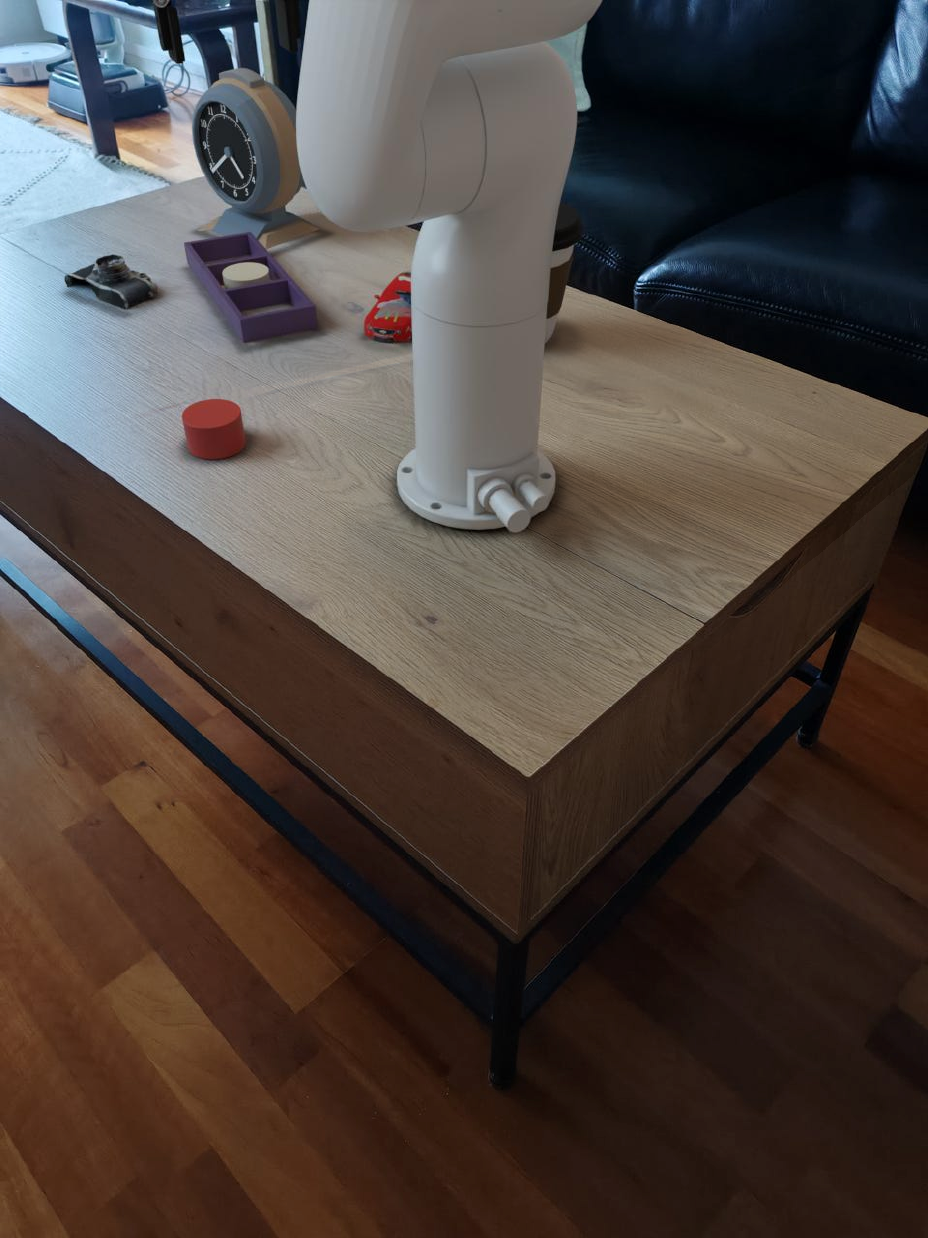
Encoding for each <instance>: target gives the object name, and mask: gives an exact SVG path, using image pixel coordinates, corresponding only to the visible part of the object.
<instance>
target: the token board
mask: <svg viewBox="0 0 928 1238" xmlns="http://www.w3.org/2000/svg"><path fill="white" fill-rule="evenodd" d="M183 246H184V252H185V258H186V264H187V265H188V266H189V268H190V269H191V271H192V272H193V274H194V275H195V276H196V278H197V280H198V281H199V282H200V283H201V285H202V286H203V288H204V289H205V291H206V292H207V294H208V295H209V296H210V298H211V299H212V301H213V302H214V303H215V305H216V307H217V308H218V309H219V311H220V312H221V313H222V315H223V316H224V318H225V319H226V320H227V322H228V323H229V325H230V326H231V327H232V329H233V331H234V332H235V334H236V335H237V336H238V338H239V339H240V341H241V342H242V343H243V344H246V343H251V342H255V341H259V340H260V341H261V340H266V339H270V338H276V337H281V336H286V335H291V334H295V333H300V332H306V331H310V330H316V329H319V326H318V315H317V306H316V304H315V303H314V302H313V301H312V300H311V299H310V297H309V296H308V295H307V294H306V293H305V292H304V291H303V290H302V288H301V287H300V286H299V285H298V284H297V283H296V282H295V280H294V279H293V278H292V277H291V276H290V275H289V274H288V272H287V271H286V270H285V269H284V268H283V266H281V264H280V263H279V262H278V261H277V260H276V259H275V258H274V256H273V255H272V254H271V253H270V252H269V251H268V249H265V248H264V246H263V245H262V244H261V243H260V242H259V241H258V240H257V239H256V237H255V236H254V235H253V234H252V233H251V232H246V233H240V234H234V235H228V236H222V235H221V236H215V237H210V238H204V239H198V240H191V241H185V242H183ZM244 256H245V257H244ZM246 256H247V257H246ZM227 259H229V260H227ZM222 260H223V261H222ZM216 261H218V262H216ZM210 262H211V263H210ZM246 262H252V263H259V264H263V265H265V266H267V267H268V269H269V275H270V281H267V282H262V283H256V284H251V285H245V286H240V287H234V288H229V289H225V286H224V280H223V274H222V273H223V270H224V269H225V268H227V267H228V266H231V265H234V264H238V263H246ZM287 303H290V304H291V305H292V307H288V308H284V309H283V308H282V309H277V310H272V311H267V312H262V313H257V314H253V315H247V316H244V315H243V313H242V312H244V311H245V312H246V311H250V310H255V309H261V308H265V307H270V306H275V305H281V304H287Z"/></svg>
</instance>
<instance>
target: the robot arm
mask: <svg viewBox="0 0 928 1238" xmlns="http://www.w3.org/2000/svg"><path fill="white" fill-rule="evenodd" d="M149 1H150V2H151V3H152V8H153V12H154V18H155V19H154V20H155V23H156V28H157V29H156V30H157V35H158V40H159V41H158V42H159V45H160V49H161V50H162V51H163V52H168V56H169V58H170V59H171V60H172V61H173V62H174V63H175V64H176V65H180V64H184V62H186V57H185V50H184V44H183V38H182V32H181V27H180V19H179V14H178V10H177V7H175V6H174V5H173V3H172V0H149ZM602 3H603V0H309V1H308V7H307V8H308V9H307V16H306V24H305V33H304V40H303V49H302V56H301V62H300V72H299V79H298V88H297V98H296V141H297V152H298V158H299V164H300V169H301V173H302V176H303V179H304V182H303V184H304V185H305V188H306V190H307V193H308V194H309V196H310V199H311V200H312V202H313V204H314V205H315V206H316V208H317V209H318V210H319V212H320V213H321V214H322V215H323V216H324V217H325V218H326V219H327V220H329V222H331V223H332V224H334V225H336V226H338V227H340V228H342V229H344V230H347V231H351V232H356V233H375V232H376V233H377V232H384V231H389V230H392V229H393V230H394V229H399V228H402V227H407V226H410V225H414V224H418V223H422V226H421V228H420V230H419V233H418V236H417V239H416V242H415V247H414V251H413V256H412V260H411V267H410V268H411V269H410V271H411V316H412V340H411V345H412V347H411V349H412V373H413V374H412V375H413V377H412V378H413V407H414V408H413V409H414V411H413V412H414V437H415V438H414V439H415V440H414V441H415V447H414V448H413V449H411V450H410V451H409V452H408V453H407V454H406V455H405V456H404V457H403V458H402V460H401V462H400V463H399V465H398V467H397V471H396V486H397V490H398V495H399V497H400V498H401V500H402V502H403V503H404V504H405V505H406V506H407V507H408V508H409V509H410V510H411V511H412V512H414V513H415V514H417V515H418V516H420V517H421V518H424V519H426V520H428V521H430V522H432V523H434V524H437V525H442V526H445V527H448V528H454V529H461V530H472V531H473V530H476V531H481V530H482V531H483V530H495V529H500V528H505V527H506V529H507V530H508V531H509V532H510V533H514V534H515V533H516V534H517V533H520V532H522V531H523V530H525V529H526V528H527V527H528V526H529V524H530V522H531V519H532V518H533V517H535V516H537V515H538V514H539V513H541V512H543V511H546V509H547V508H548V507H549V505H550V502H551V501H552V499H553V496H554V494H555V488H556V479H557V478H556V471H555V469H554V466H553V463H552V461H550V459H549V458H548V457H547V456H546V454H544V453H543V452H542V451H540V450H539V435H540V421H541V420H540V419H541V405H542V389H543V374H544V361H545V360H544V359H545V358H544V357H545V345H546V343H545V331H546V316H547V303H548V296H549V281H550V268H551V257H552V247H553V239H554V232H555V225H556V220H557V214H558V209H559V204H560V202H561V199H562V195H563V192H564V187H565V184H566V180H567V177H568V173H569V170H570V165H571V160H572V156H573V151H574V147H575V141H576V135H577V128H578V127H577V126H578V104H577V94H576V89H575V85H574V81H573V78H572V76H571V72H570V70H569V68H568V66H567V64H566V63H565V61H564V60H563V58H562V57H561V55H560V54H559V53H558V52H557V50H556V49H555V48H554V47H552V45H551V44H550V43H548V41H551V40H556V39H559V38H563V37H566V36H567V35H569V34H571V33H574V32H575V31H578V30H579V29H581V28H582V27H583V26H585V25H586V24H587V23H588V22H589V21H590V20H591V19H592V18H593V16H594V15H595V13H596V12H597V10H598V9H599V7H600V6H601V4H602ZM274 5H275V6H274V7H275V14H276V23H277V34H278V43H279V45H280V47H282V48H283V49H285V50H286V51H288V52H290V53H291V54H294V53H299V44H298V40H299V39H302V37H303V33H302V21H301V9H300V0H274Z"/></svg>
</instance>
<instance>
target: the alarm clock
mask: <svg viewBox="0 0 928 1238" xmlns="http://www.w3.org/2000/svg"><path fill="white" fill-rule="evenodd" d="M218 78H219V79H218V80H216V81H214V82H213V83H212V85H211V86H210V87H209V88H208V89H207V90H205V92H203V94H202V95H201V96H200V98H199V100H198V101H197V103H196V104H195V108H194V111H193V114H192V124H191V133H192V143H193V148H194V151H195V155H196V159H197V162H198V165H199V166H200V169H201V172H202V174H203V175H204V177H205V179H206V181H207V183H208V184H209V186H210V187H211V189H212V190H213V192H214V193H215V194H216V195H217V196H218V197H219V198H220V199H221V200H222V201H223V202H224V203H225V204H226V205H229V206H231V207H229V208H227V209H225V210H224V211H223V213H222V214H221V215H220V216H218V217H216V218H214V219H213V220H212V221H210V222H208V223H206V224H205V225H203V226H202V227H201V228H199V229H197V232H205V231H210V230H211V233H214V234H216V235H220V236H221V237H222V236H228V235H234V234H240V233H246V232H251V233H252V234H253V235H254V236H255V237H256V239H257V240H258V241H259V242H260V243H261V244H262V245H263V246H264V248H265V249H266V250H268V249H270V248H274V247H277V246H279V245H281V244H284V243H288V242H289V241H292V240H295V239H297V238H300V237H303V236H305V235H308V234H310V233H313V232H315V231H319V230H320V228H318V227H316V226H314V225H312V222H309V221H307V220H306V219H304V218H303V217H300V216H299V215H297V214H295V213H293V212H290V211H287V208H286V206H287V205H288V204H290V202H292V200H293V199H294V197H295V196H296V195H297V194H298V193H300V191H301V189H302V186H303V184H304V179H303V176H302V173H301V169H300V164H299V158H298V152H297V141H296V110H297V108H296V107H295V105H294V103H292V101H291V100H290V99H289V97H288V96H287V95H286V93H285V92H283V91H282V90H281V89H280V88H279V87H277V86H276V85H275V84H273V83H271V82H270V81H267V80H265V78H264V77H263V76H262V75H260V73H257V72H256V71H254V70H252V69H249V68H246V67H238V68H237V67H236V68H233V69H229V70H225V71H222V72H219V73H218Z"/></svg>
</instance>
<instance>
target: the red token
mask: <svg viewBox="0 0 928 1238" xmlns="http://www.w3.org/2000/svg"><path fill="white" fill-rule="evenodd" d="M181 422H182V425H183V426H182V427H183V430H184V435H185V440H186V445H187V449H188V451H189V453H190V454H191V455H193V456H194V457H196V458H199V459H202V460H213V461H214V460H222V459H226V458H227V459H228V458H229V457H233V456H235V455H236V454H239V453H240V452H241V451H242V450H243V449H244V448H245V446H246V443H247V440H246V434H245V427H244V422H243V415H242V410H241V407H240V405H238V404H237V403H235V402H234V401H232V400H229V399H224V398H209V399H204V400H203V399H202V400H199V401H197V402H194V403H192V404H190V405H188V406H187V407H185V409H183V411H182V413H181Z"/></svg>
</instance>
